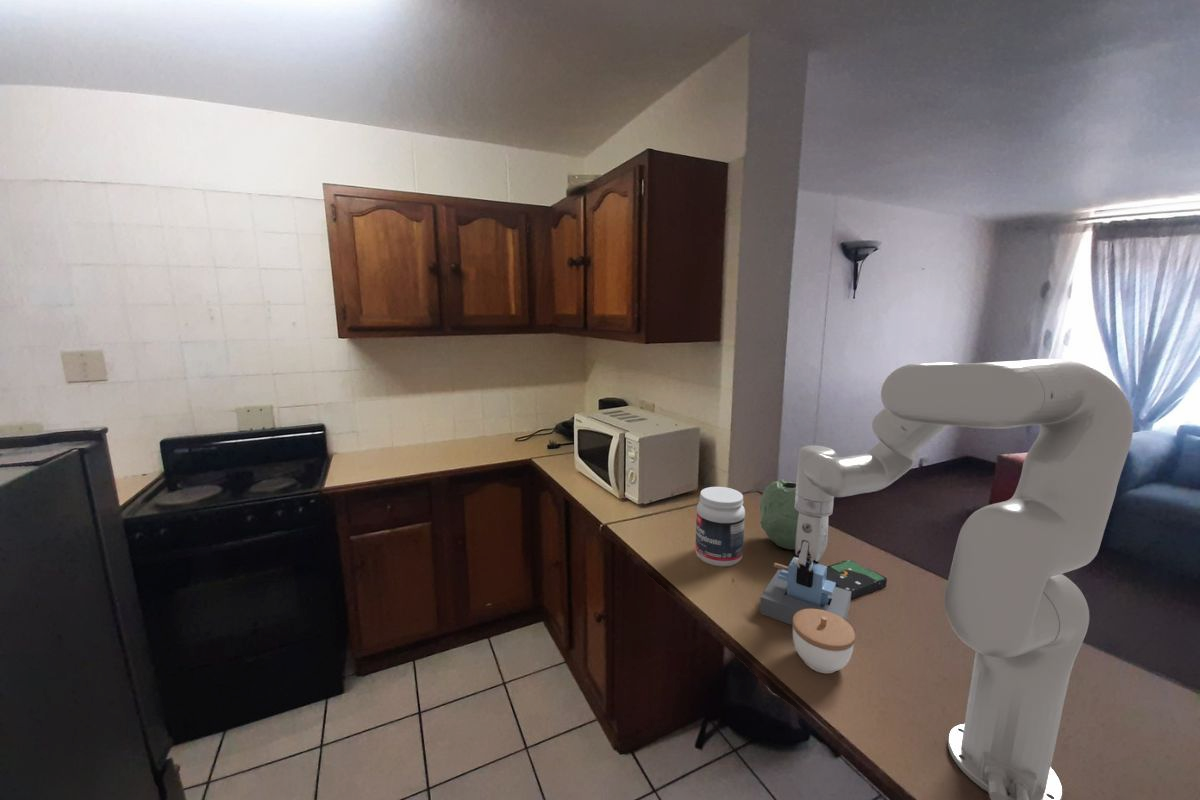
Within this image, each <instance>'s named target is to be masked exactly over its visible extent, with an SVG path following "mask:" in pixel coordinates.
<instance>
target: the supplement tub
mask: <svg viewBox="0 0 1200 800" xmlns="http://www.w3.org/2000/svg"><path fill="white" fill-rule="evenodd" d="M697 503H698V504H697V506H696V518H695V519H696V521H695V525H696V526H695V542H694V543H695V548H694V551H695V553H696V556H697V557H698V558H699V559H700V560H701V561H702V562H704V563H707V564H709V565H712V566H717V567H731V566H734V565H736V564H738V563H740V561H741V560H742V559H743V556H744V555H743V552H744V537H745V536H744V534H745V518H746V509H745V507H744V506H743V505H744V495H743V493H742V492H740V491H738V489H737V490H736V489H733V488H730V487H725V486H710V487H709V486H708V487H705V488H703V489H701V491H700V493H699V502H697Z"/></svg>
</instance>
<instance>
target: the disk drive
mask: <svg viewBox="0 0 1200 800" xmlns="http://www.w3.org/2000/svg"><path fill="white" fill-rule="evenodd" d="M826 580H829V581H832V582H835V583H836V586H835V587H838V588H841V589H845V590H848V591H851V600H854V599H855V598H858V597H861V596H864V595H866V594H869V593H871V592H875V591H876V590H880V589H883V588H885V587H887V582H888V578H887V577H885V576H884V575H882V574H880V573H879V572H876V571H874V570H872V569H870V568H869V567H866V566H864V565H861V564H859V563H857V562H855V560H853V559H848V560H842V561H840V562H837V563H834V564H830V565H827V574H826Z"/></svg>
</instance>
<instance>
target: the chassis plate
mask: <svg viewBox="0 0 1200 800" xmlns="http://www.w3.org/2000/svg"><path fill="white" fill-rule="evenodd" d="M781 571H782V569H780V568H777V571H776V572H775V574H774V576H773V577H772V578H771V580H770V582H769V583H768V585H767V586H766V588H765V590H764V591H763V593H762V594H761V595H760V602H759V603H760V604H759V614H761V613H762V615H764V614H765V615H764V616H766V615H767V617H771V618H772V619H775V620H778V621H781V622H783V623H786V624H788V625H791V626H793V616H794V614H795V613H797V612H798V611H800V610H803V609H820V610H825V611H828V612H831V613H833V614H835V615H837V616H839V617H841V618H843V619H844V620H845V621H847V618H848V614H849V612H850V607H851V600H852V599H851V591H848V590H845V589H841V588H838V587H835V589H834V591H833V594H832V596H830V595H829V601H828V605H826V604H824V606H823V607H822V606H821V607H820V606H817V605H814V604H811V603H808V602H805V601H802V600H800V599H797V598H794V597H791V596H788V595H786V594H787V581H784V580H781V579H778V577H779V574H780V572H781Z"/></svg>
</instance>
